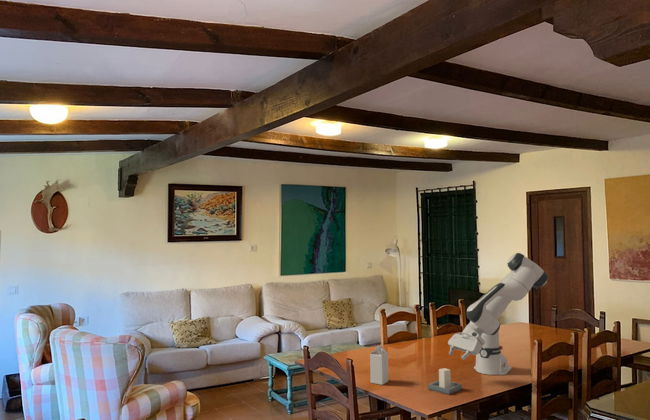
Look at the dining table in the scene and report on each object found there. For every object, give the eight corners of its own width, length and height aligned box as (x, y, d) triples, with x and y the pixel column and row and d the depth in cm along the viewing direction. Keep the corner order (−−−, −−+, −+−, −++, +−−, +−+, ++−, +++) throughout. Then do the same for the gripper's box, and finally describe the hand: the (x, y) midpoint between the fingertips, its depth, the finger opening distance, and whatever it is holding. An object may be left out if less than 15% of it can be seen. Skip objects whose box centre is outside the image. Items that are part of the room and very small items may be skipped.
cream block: (445, 385, 248) (445, 368, 249) (450, 388, 245) (450, 369, 245) (439, 387, 247) (438, 369, 247) (444, 389, 243) (444, 371, 244)
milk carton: (370, 383, 257) (369, 346, 258) (376, 379, 263) (376, 343, 264) (382, 385, 253) (381, 348, 254) (388, 381, 259) (387, 345, 260)
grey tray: (441, 384, 254) (441, 379, 254) (462, 389, 246) (461, 384, 246) (428, 389, 246) (428, 384, 246) (449, 394, 237) (448, 389, 237)
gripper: (453, 328, 264) (439, 348, 260) (480, 335, 246) (466, 357, 241) (460, 335, 266) (446, 355, 262) (487, 343, 248) (473, 365, 243)
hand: (456, 356), depth 251 cm, fingers open, 8 cm apart
